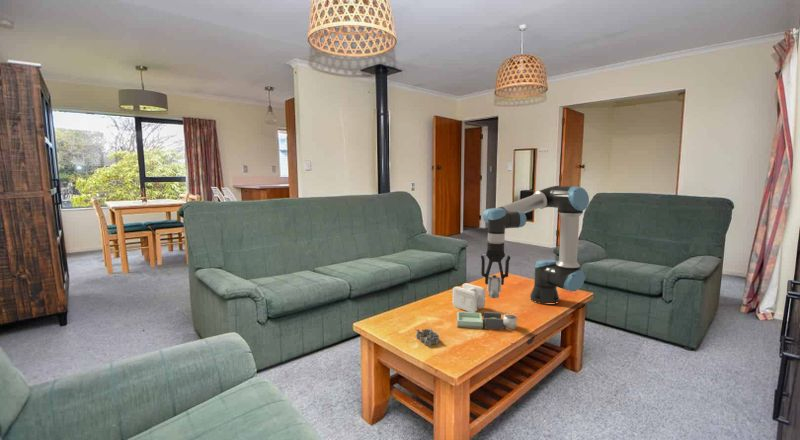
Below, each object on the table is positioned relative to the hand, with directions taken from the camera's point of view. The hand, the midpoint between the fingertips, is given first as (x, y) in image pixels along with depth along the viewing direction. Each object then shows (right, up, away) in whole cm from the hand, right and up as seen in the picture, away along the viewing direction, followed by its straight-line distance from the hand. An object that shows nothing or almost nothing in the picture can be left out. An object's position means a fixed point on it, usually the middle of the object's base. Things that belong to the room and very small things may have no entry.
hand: (494, 291), depth 171 cm
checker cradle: (0, -17, +2) cm, 17 cm away
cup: (+7, -17, 0) cm, 18 cm away
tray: (-11, -16, +5) cm, 20 cm away
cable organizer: (-7, -14, +23) cm, 28 cm away
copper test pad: (0, -14, +2) cm, 15 cm away
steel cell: (0, -3, 0) cm, 3 cm away
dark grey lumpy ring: (-32, -19, -13) cm, 40 cm away
